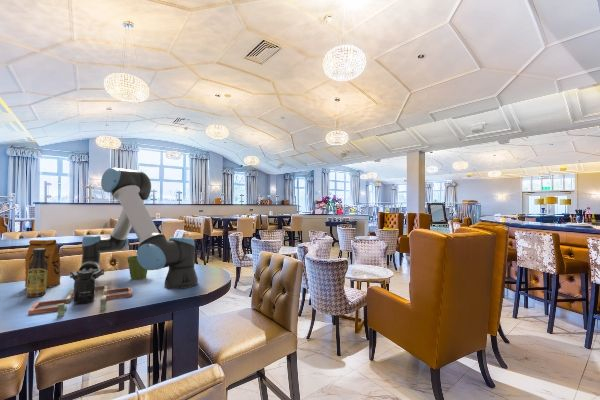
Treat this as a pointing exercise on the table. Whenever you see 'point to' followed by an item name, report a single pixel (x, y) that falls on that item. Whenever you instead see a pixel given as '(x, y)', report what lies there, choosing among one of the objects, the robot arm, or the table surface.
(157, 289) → the table surface
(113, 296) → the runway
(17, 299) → the table surface
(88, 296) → the supplement bottle
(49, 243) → the coffee package
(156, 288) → the table surface
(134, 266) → the plant pot
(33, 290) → the sauce bottle
